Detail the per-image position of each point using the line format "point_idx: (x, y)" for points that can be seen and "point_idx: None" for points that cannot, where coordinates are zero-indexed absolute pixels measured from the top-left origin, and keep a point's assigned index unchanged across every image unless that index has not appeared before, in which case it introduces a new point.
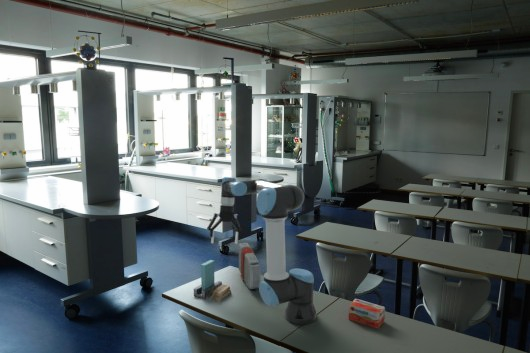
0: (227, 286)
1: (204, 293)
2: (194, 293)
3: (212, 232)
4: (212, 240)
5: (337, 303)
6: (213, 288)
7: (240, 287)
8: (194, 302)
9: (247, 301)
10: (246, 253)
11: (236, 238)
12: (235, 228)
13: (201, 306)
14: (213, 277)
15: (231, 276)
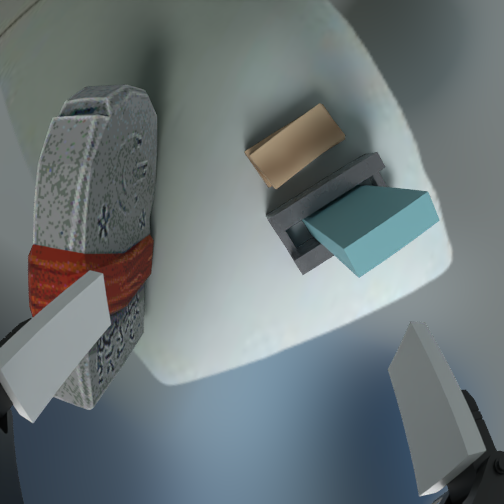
0: (262, 154)
1: (374, 153)
2: None
3: (471, 447)
4: (437, 348)
5: (9, 19)
6: (323, 183)
7: (184, 192)
8: (402, 150)
9: (210, 62)
10: (69, 249)
11: (63, 317)
12: (10, 457)
13: (388, 108)
14: (320, 222)
15: (185, 313)
